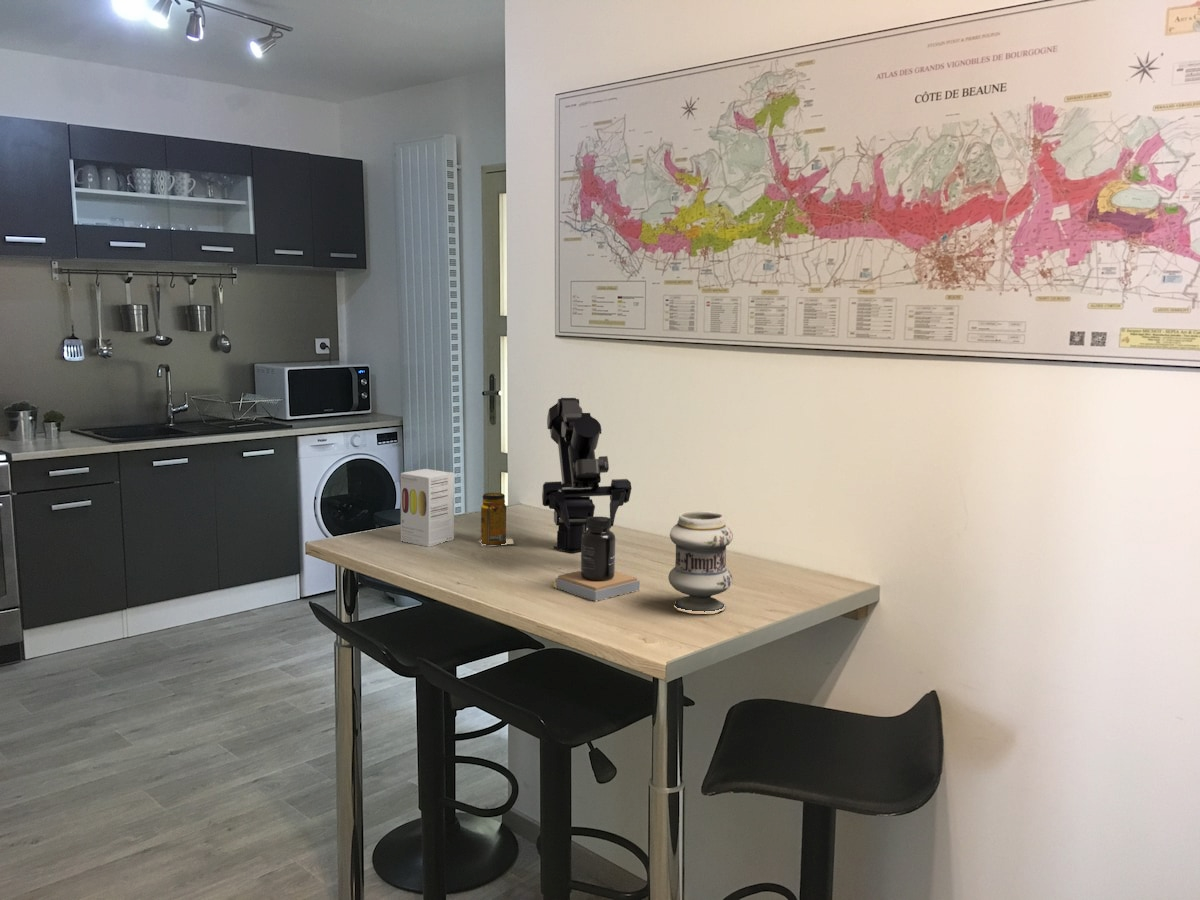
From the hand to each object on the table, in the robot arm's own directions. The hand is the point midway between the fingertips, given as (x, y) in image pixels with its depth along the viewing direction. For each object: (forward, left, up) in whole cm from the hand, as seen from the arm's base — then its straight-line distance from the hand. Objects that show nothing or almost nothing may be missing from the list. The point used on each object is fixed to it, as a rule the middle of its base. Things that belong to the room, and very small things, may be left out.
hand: (590, 526), depth 195 cm
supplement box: (+8, -49, -11) cm, 51 cm away
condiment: (-4, -37, -11) cm, 39 cm away
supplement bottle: (+5, +7, -9) cm, 12 cm away
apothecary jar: (-3, +28, -11) cm, 30 cm away
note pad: (+4, +7, -11) cm, 14 cm away
